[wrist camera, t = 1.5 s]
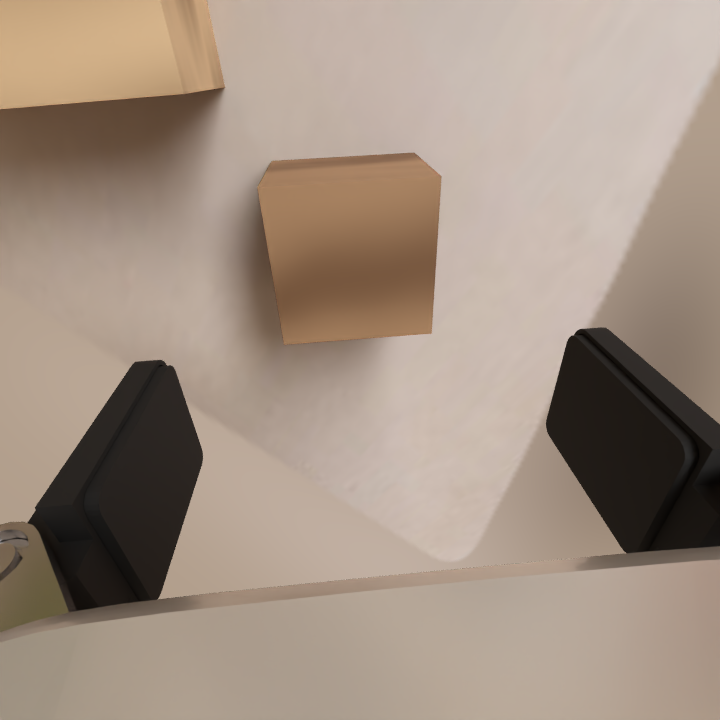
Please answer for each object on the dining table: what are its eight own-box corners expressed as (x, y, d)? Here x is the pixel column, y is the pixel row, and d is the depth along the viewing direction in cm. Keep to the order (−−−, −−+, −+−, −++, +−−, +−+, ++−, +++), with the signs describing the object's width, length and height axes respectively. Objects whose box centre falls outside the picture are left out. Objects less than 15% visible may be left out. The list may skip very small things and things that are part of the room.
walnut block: (272, 160, 18) (257, 187, 14) (413, 152, 18) (441, 176, 14) (291, 291, 21) (283, 344, 17) (410, 283, 21) (431, 333, 17)
